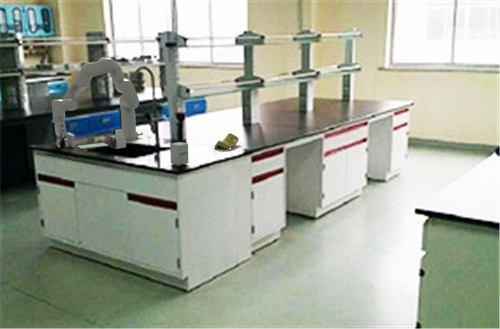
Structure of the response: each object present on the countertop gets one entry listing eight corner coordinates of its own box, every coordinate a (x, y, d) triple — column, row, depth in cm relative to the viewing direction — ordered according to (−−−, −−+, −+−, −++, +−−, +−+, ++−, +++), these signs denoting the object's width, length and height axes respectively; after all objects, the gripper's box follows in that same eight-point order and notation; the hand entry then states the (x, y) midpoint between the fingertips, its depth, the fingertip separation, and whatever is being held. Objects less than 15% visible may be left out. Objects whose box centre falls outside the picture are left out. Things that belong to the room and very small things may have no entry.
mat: (103, 143, 363) (103, 142, 363) (108, 145, 356) (108, 145, 356) (76, 146, 354) (76, 145, 354) (80, 148, 346) (80, 148, 346)
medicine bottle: (110, 147, 351) (109, 129, 348) (120, 145, 356) (119, 127, 353) (116, 149, 346) (115, 130, 343) (126, 147, 351) (125, 129, 348)
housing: (70, 143, 362) (69, 132, 360) (75, 147, 352) (74, 135, 350) (66, 144, 360) (65, 132, 358) (72, 147, 351) (71, 135, 349)
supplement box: (179, 167, 300) (178, 145, 297) (170, 165, 305) (169, 143, 302) (189, 165, 305) (188, 143, 302) (180, 163, 310) (179, 141, 307)
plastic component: (230, 147, 342) (217, 139, 343) (226, 156, 345) (212, 149, 347) (241, 138, 360) (228, 131, 361) (236, 148, 363) (224, 140, 364)
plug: (77, 144, 360) (76, 137, 359) (79, 145, 357) (78, 138, 356) (56, 146, 353) (55, 139, 352) (57, 148, 349) (57, 140, 348)
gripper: (68, 120, 343) (71, 148, 348) (61, 116, 357) (63, 143, 362) (56, 121, 339) (59, 149, 344) (49, 117, 353) (52, 144, 358)
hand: (61, 146), depth 353 cm, fingers open, 5 cm apart
